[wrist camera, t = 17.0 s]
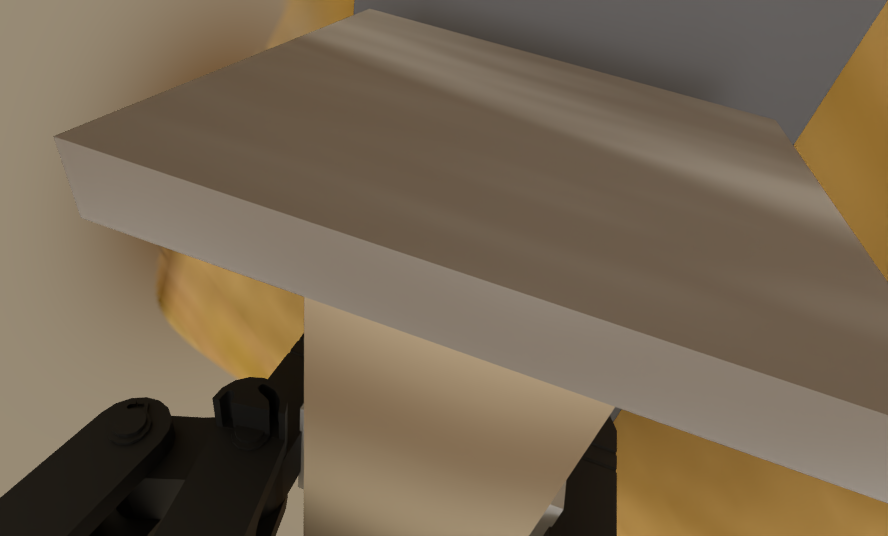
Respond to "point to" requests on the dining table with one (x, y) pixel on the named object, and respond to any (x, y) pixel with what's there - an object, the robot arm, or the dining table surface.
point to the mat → (677, 44)
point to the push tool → (506, 267)
